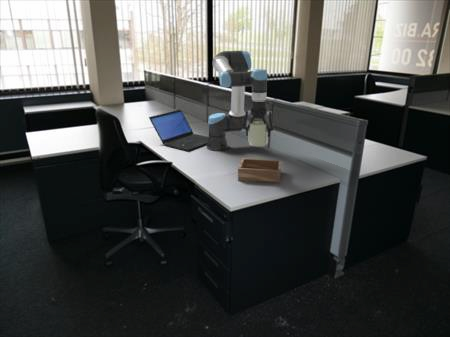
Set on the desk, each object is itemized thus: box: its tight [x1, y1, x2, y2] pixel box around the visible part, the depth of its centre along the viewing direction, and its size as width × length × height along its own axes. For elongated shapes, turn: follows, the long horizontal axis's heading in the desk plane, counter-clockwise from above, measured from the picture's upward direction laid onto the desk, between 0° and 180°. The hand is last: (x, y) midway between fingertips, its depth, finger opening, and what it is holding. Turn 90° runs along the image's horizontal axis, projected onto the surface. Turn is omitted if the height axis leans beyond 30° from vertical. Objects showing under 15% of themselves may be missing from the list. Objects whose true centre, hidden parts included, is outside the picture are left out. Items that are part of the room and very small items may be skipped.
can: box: [249, 120, 267, 147], centre depth 186 cm, size 9×9×12 cm
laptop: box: [148, 109, 209, 152], centre depth 254 cm, size 33×38×19 cm
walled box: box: [237, 157, 282, 184], centre depth 193 cm, size 16×22×7 cm
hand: (257, 142), depth 188 cm, fingers closed on can, 9 cm apart
